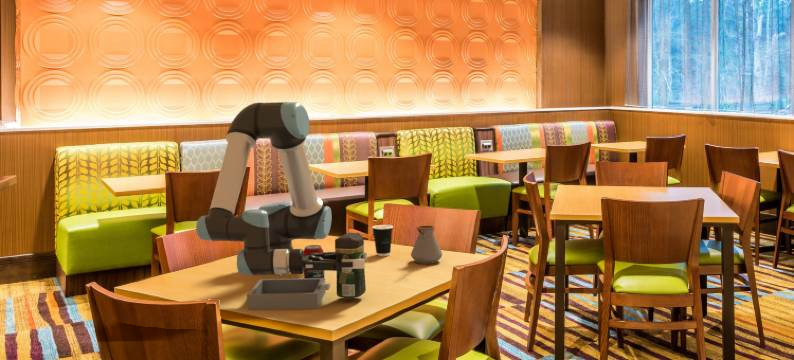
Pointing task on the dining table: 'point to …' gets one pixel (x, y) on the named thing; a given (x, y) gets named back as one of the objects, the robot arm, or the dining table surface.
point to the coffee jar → (350, 279)
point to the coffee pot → (426, 246)
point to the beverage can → (313, 273)
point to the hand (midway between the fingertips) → (365, 260)
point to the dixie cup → (382, 239)
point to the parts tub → (287, 294)
